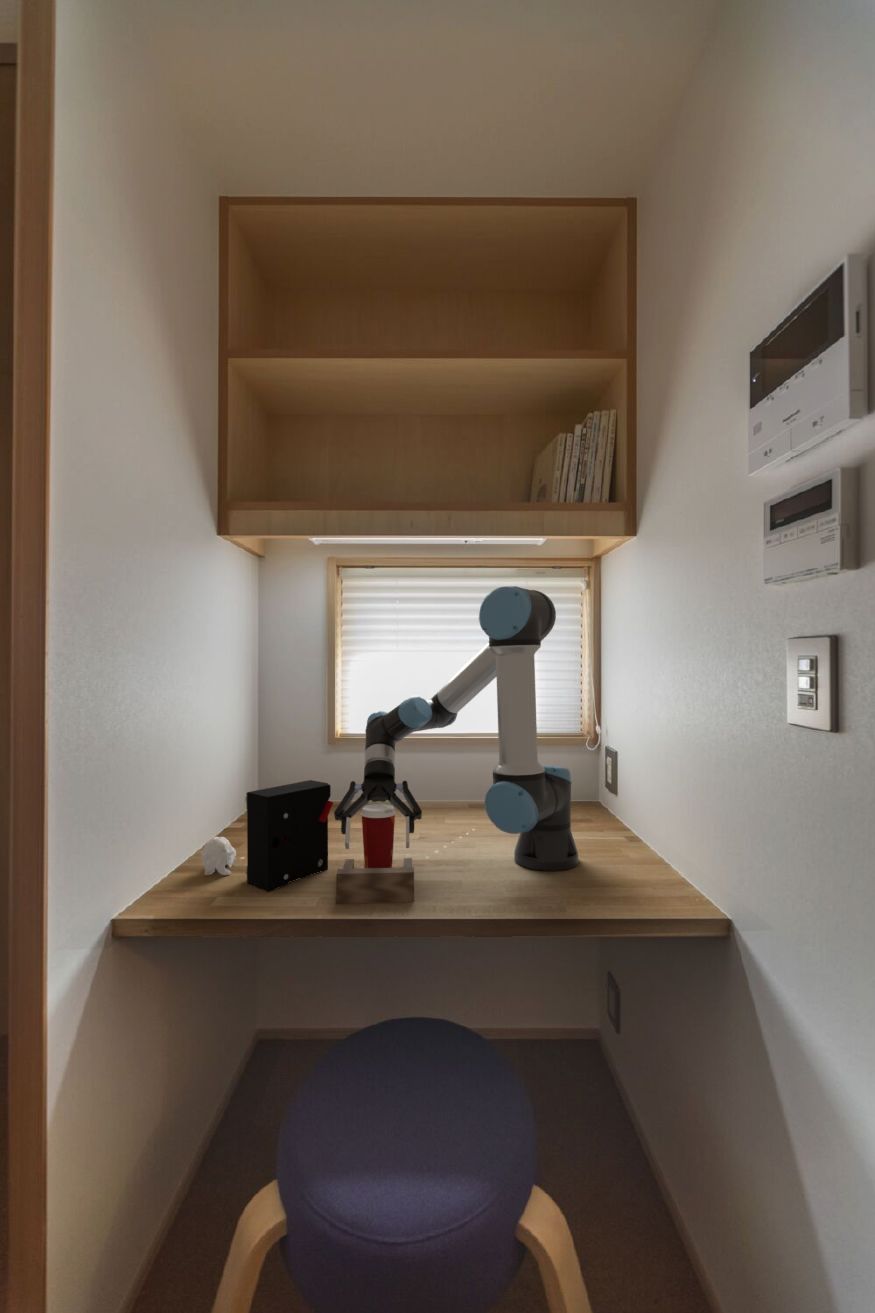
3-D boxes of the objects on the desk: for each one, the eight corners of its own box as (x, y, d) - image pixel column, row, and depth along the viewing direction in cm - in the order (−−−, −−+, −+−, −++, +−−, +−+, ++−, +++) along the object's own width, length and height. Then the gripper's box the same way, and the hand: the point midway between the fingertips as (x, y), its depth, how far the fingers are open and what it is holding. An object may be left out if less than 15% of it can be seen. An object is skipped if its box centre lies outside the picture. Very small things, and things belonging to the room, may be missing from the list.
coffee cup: (404, 872, 150) (403, 807, 150) (377, 882, 144) (376, 813, 144) (379, 864, 155) (379, 801, 155) (352, 873, 149) (352, 807, 149)
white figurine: (199, 839, 146) (218, 830, 158) (198, 878, 145) (216, 866, 157) (227, 839, 146) (244, 830, 158) (226, 879, 145) (243, 866, 157)
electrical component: (305, 862, 157) (304, 778, 157) (333, 871, 151) (333, 784, 151) (241, 882, 144) (241, 790, 144) (270, 892, 137) (269, 797, 137)
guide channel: (412, 866, 154) (412, 841, 154) (414, 902, 132) (414, 872, 132) (345, 867, 153) (345, 842, 153) (336, 903, 131) (336, 873, 131)
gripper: (429, 775, 166) (432, 852, 151) (330, 776, 164) (322, 854, 149) (430, 757, 160) (433, 836, 145) (327, 758, 159) (319, 838, 144)
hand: (377, 845), depth 147 cm, fingers open, 13 cm apart
